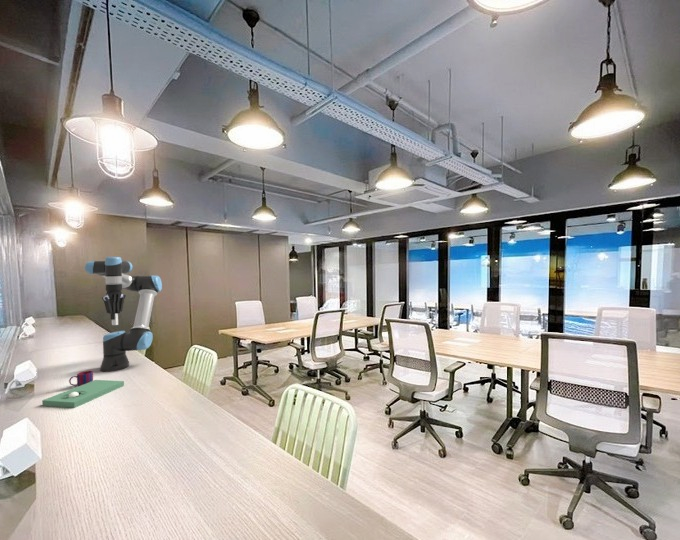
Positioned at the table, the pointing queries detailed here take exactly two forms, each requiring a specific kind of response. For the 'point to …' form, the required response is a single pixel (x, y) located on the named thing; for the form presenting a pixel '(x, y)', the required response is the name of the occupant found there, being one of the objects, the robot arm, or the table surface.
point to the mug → (83, 378)
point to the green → (83, 393)
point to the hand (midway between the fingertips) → (115, 324)
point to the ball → (73, 394)
